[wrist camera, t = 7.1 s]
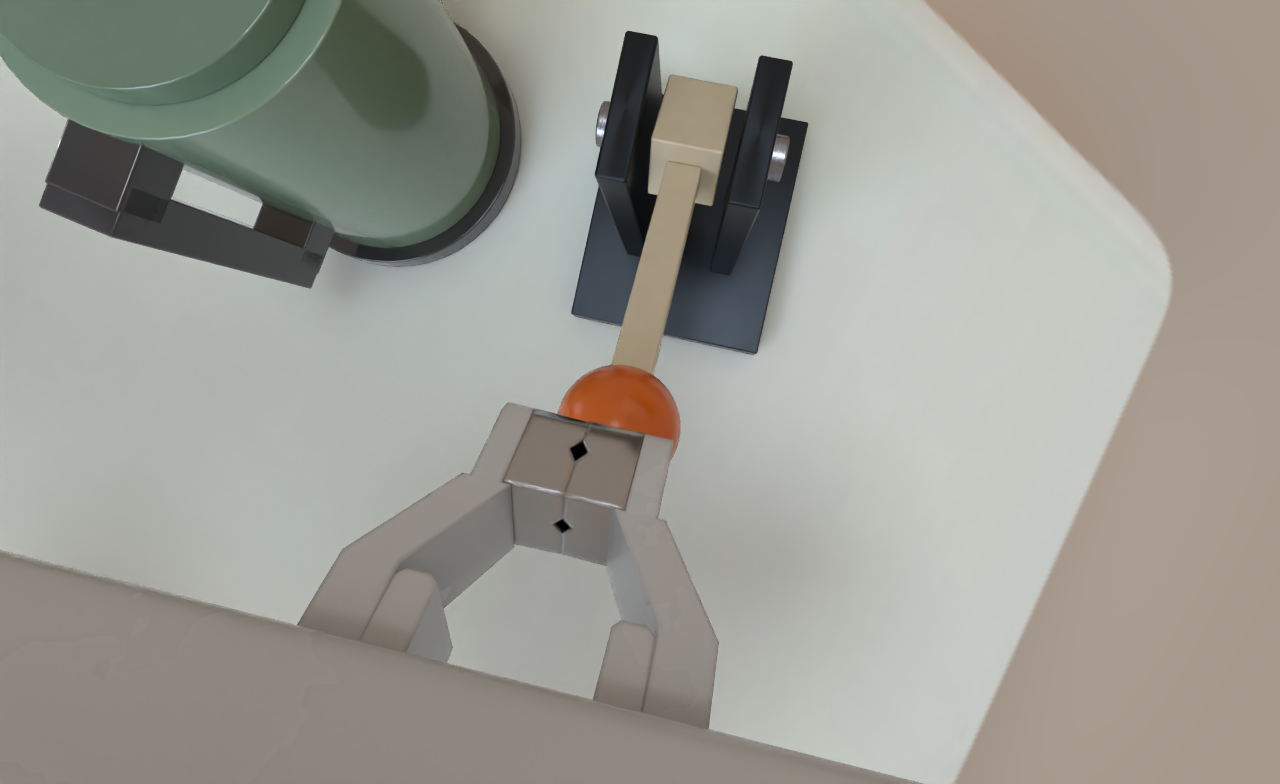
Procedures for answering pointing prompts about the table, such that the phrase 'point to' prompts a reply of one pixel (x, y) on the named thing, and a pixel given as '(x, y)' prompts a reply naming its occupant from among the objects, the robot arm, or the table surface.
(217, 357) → the table surface
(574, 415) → the switch lever
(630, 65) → the switch bracket
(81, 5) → the green canister
